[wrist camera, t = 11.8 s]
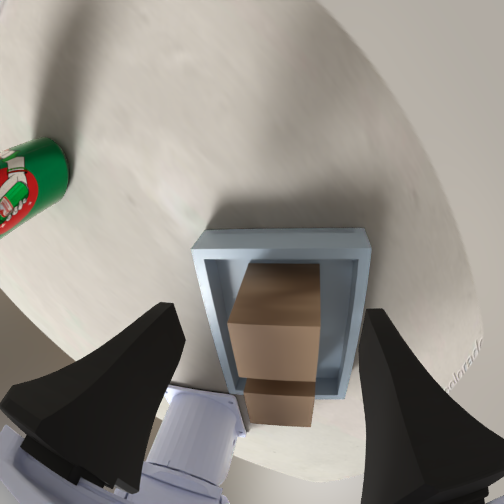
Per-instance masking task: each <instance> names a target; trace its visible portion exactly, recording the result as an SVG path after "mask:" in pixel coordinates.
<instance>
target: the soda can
mask: <svg viewBox="0 0 504 504" xmlns="http://www.w3.org/2000/svg"><path fill="white" fill-rule="evenodd" d="M68 180H69V167H68V162H67V159H66V156H65V154H64V152H63V150H62V149H61V147H60V146H59V145H58V144H57V143H56V142H54V141H53V140H51V139H50V138H47V137H41V138H37V139H34V140H31V141H28V142H26V143H23V144H20V145H17V146H15V147H12V148H9V149H7V150H4V151H2V152H0V239H2V238H3V237H4V236H6V235H7V234H9V233H10V232H11V231H13V230H14V229H16V228H17V227H19V226H20V225H22V224H23V223H25V222H26V221H28V220H29V219H31V218H32V217H34V216H36V215H37V214H39V213H40V212H42V211H43V210H45V209H47V208H48V207H50V206H52V205H53V204H55V203H57V202H58V201H60V200H61V199H62V197H63V196H64V194H65V192H66V189H67V185H68Z"/></svg>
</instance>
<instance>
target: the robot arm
mask: <svg viewBox="0 0 504 504" xmlns="http://www.w3.org/2000/svg"><path fill="white" fill-rule="evenodd" d="M185 341H186V339H185V336H184V333H183V330H182V328H181V325H180V322H179V319H178V316H177V313H176V310H175V307H174V303H165V302H160V303H158V304H157V305H155V306H154V307H152V308H151V309H150V310H149V311H147V312H146V313H145V314H143V315H142V316H141V317H140V318H138V319H137V320H136V321H134V322H133V323H132V324H131V325H129V326H128V327H127V328H125V329H124V330H123V331H122V332H120V333H119V334H118V335H116V336H115V337H113V338H112V339H111V340H109V341H108V342H106V343H105V344H104V345H102V346H101V347H99V348H98V349H96V350H95V351H93V352H92V353H90V354H88V355H87V356H85V357H83V358H82V359H80V360H78V361H76V362H74V363H72V364H70V365H68V366H66V367H64V368H62V369H60V370H58V371H56V372H53V373H51V374H48V375H46V376H43V377H40V378H38V379H35V380H31V381H28V382H24V383H20V384H17V385H13V386H12V387H11V388H10V390H9V391H8V392H7V394H6V395H5V397H4V398H3V400H2V401H1V403H0V409H1V410H2V412H3V413H4V414H5V415H6V416H7V417H8V418H9V419H10V420H11V421H12V422H13V423H14V424H16V425H17V426H18V427H19V428H20V429H21V430H22V431H23V432H25V434H27V435H26V437H25V439H24V438H23V437H22V436H20V435H19V434H18V433H17V432H15V431H14V430H13V429H11V428H10V427H9V426H8V425H5V426H4V428H3V429H2V431H1V432H0V480H1V482H2V483H3V484H4V485H5V486H6V488H7V489H8V490H9V491H10V493H11V494H12V495H13V496H14V497H15V499H16V500H17V501H18V502H19V503H20V504H230V502H229V501H228V499H227V497H226V496H225V495H221V494H222V490H223V488H220V487H219V485H221V484H222V483H223V482H224V480H225V479H226V477H227V475H228V471H229V468H230V464H231V460H232V456H233V453H234V449H235V445H236V441H237V437H246V434H247V433H246V430H245V427H244V424H243V420H242V417H241V413H240V410H239V407H238V403H237V400H236V397H235V396H234V395H231V394H223V393H215V392H208V391H202V390H195V389H189V388H184V387H178V386H173V385H169V383H170V381H171V379H172V377H173V375H174V372H175V370H176V368H177V366H178V363H179V361H180V358H181V355H182V352H183V348H184V344H185ZM359 373H360V381H361V388H362V396H363V404H364V412H365V421H366V457H365V472H364V482H363V492H362V498H361V504H485V502H484V498H485V497H487V496H488V494H489V492H488V486H490V485H491V484H493V483H494V482H496V481H498V480H499V479H501V478H502V477H504V439H503V438H502V437H500V436H499V435H497V434H496V433H494V432H493V431H491V430H489V429H488V428H487V427H485V426H484V425H483V424H481V423H480V422H479V421H477V420H476V419H475V418H474V417H472V416H471V415H470V414H469V413H468V412H466V411H465V410H464V409H463V408H462V407H461V406H460V405H459V404H458V403H457V402H455V401H454V400H453V399H452V398H451V397H450V396H449V395H448V394H447V393H446V392H445V391H444V390H443V389H442V388H441V386H440V385H439V384H438V383H437V382H436V381H435V380H434V379H433V377H432V376H431V375H430V374H429V373H428V372H427V370H426V369H425V368H424V366H423V365H422V364H421V363H420V361H419V360H418V359H417V357H416V356H415V355H414V353H413V352H412V351H411V349H410V348H409V346H408V345H407V344H406V342H405V341H404V339H403V338H402V337H401V335H400V334H399V332H398V331H397V329H396V328H395V326H394V325H393V323H392V322H391V320H390V318H389V317H388V315H387V314H386V312H385V311H384V310H383V309H382V308H381V309H366V312H365V318H364V323H363V329H362V334H361V339H360V343H359ZM163 396H165V398H166V399H167V401H168V403H169V404H170V405H169V407H168V410H167V412H166V415H165V417H164V419H163V422H162V424H161V426H160V429H159V431H158V434H157V436H156V438H155V441H154V443H153V445H152V448H151V450H150V453H149V455H148V458H147V460H146V462H145V461H144V456H145V451H146V448H147V444H148V440H149V436H150V432H151V429H152V425H153V422H154V419H155V416H156V413H157V410H158V408H159V405H160V403H161V401H162V398H163ZM104 486H106V487H109V488H111V489H113V487H116V489H115V492H114V494H113V493H111V492H109V491H107V490H104V489H103V487H104ZM486 504H504V495H503V496H501V497H499V498H497V499H494V500H492V501H490V502H488V503H486Z"/></svg>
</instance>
